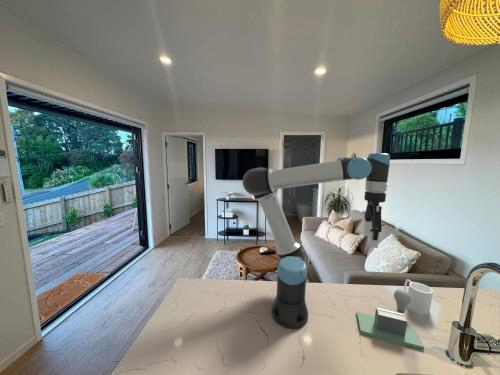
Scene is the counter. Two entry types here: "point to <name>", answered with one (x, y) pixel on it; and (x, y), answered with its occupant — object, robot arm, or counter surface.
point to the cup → (419, 297)
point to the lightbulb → (402, 300)
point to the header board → (369, 329)
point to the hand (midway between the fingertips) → (370, 241)
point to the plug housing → (390, 321)
